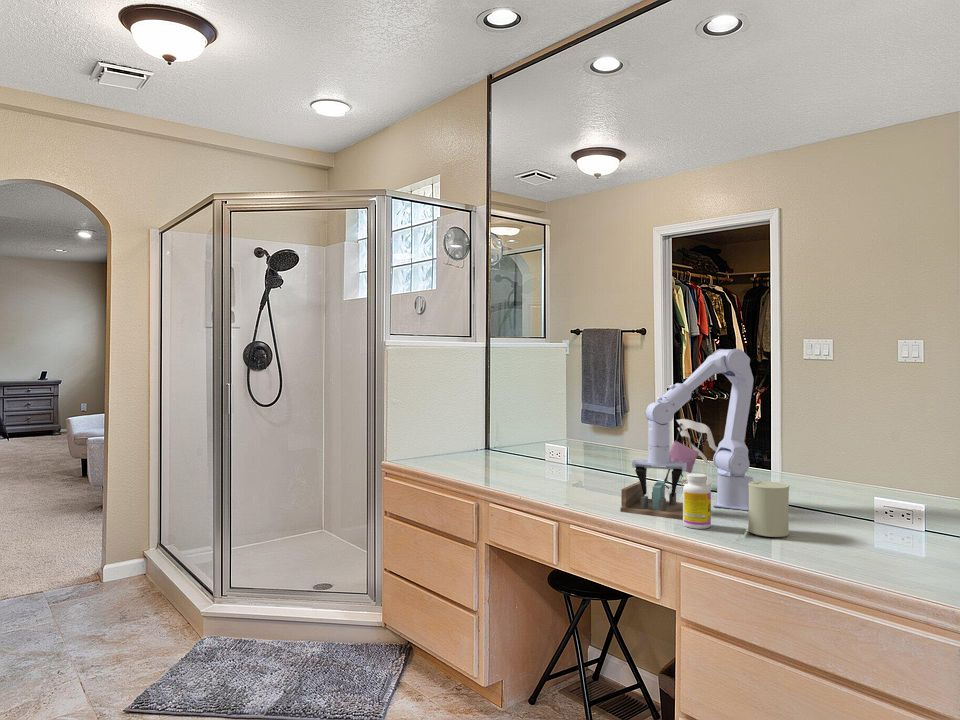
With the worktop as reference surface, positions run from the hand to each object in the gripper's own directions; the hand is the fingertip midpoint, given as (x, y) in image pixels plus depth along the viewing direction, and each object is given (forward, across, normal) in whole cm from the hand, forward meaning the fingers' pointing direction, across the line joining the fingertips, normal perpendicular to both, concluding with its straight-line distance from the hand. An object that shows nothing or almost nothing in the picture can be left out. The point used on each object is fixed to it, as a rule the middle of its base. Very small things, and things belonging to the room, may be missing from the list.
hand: (658, 495), depth 190 cm
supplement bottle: (+4, -11, +16) cm, 20 cm away
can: (+4, -28, +15) cm, 32 cm away
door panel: (+3, 0, 0) cm, 3 cm away
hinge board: (+4, -1, 0) cm, 4 cm away
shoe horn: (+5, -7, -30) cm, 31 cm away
